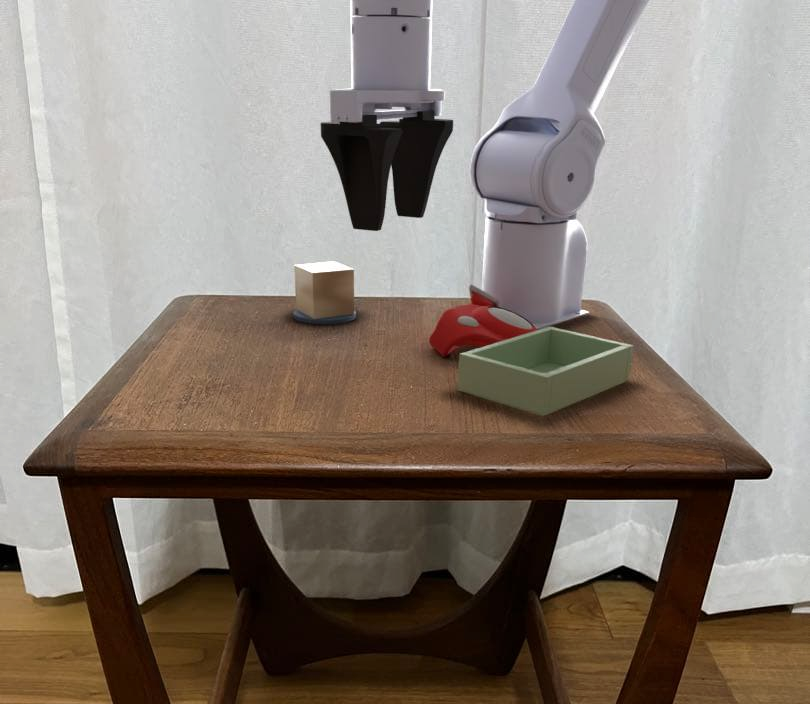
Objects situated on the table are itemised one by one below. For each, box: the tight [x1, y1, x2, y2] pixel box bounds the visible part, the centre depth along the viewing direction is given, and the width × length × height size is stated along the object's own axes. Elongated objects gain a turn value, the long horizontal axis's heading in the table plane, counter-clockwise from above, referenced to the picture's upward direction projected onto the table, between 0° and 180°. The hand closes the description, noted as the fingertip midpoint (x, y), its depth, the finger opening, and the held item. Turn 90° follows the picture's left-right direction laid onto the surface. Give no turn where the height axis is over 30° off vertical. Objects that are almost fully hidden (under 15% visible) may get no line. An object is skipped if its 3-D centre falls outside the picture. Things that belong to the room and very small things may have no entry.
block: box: [293, 261, 355, 319], centre depth 78 cm, size 4×4×4 cm
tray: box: [457, 326, 634, 417], centre depth 61 cm, size 11×7×3 cm
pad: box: [293, 309, 357, 325], centre depth 79 cm, size 6×6×1 cm
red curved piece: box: [428, 284, 537, 358], centre depth 70 cm, size 12×4×10 cm
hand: (389, 222), depth 68 cm, fingers open, 7 cm apart
